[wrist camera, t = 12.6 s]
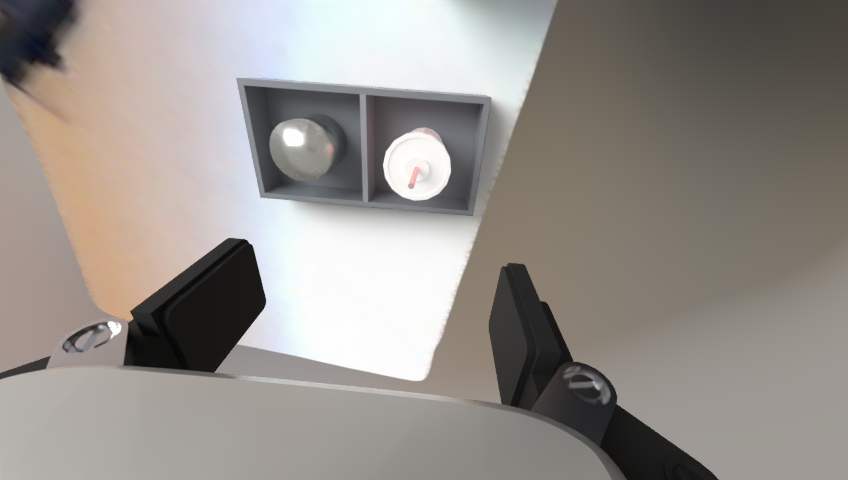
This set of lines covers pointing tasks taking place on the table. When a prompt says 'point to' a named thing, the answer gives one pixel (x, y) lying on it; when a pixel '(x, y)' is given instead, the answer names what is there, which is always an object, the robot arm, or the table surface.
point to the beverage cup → (417, 164)
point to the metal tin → (307, 146)
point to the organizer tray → (367, 140)
